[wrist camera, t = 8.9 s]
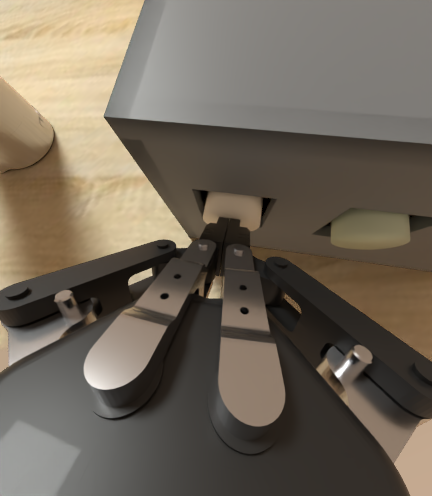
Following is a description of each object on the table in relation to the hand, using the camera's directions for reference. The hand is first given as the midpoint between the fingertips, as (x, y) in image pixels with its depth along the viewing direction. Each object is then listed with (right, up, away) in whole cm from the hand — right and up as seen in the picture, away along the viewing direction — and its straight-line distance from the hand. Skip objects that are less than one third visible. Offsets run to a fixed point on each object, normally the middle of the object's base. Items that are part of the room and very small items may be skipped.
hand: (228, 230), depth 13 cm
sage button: (+10, +2, +2) cm, 10 cm away
